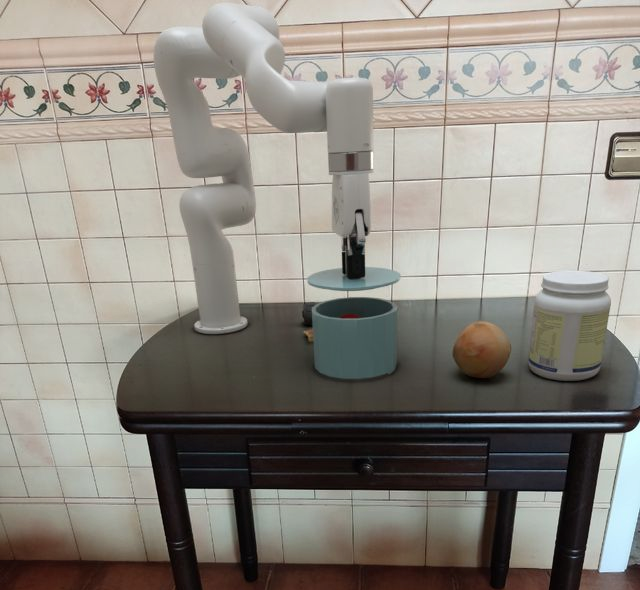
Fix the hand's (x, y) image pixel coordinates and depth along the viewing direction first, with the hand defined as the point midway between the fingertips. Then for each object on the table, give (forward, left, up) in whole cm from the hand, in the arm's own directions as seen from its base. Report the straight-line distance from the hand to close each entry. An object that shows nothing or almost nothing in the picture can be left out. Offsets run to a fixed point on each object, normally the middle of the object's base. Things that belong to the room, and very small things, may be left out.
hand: (353, 274), depth 107 cm
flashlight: (-30, +3, -18) cm, 35 cm away
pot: (0, 0, -17) cm, 17 cm away
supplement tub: (+14, +35, -18) cm, 42 cm away
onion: (+12, +20, -18) cm, 29 cm away
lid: (0, 0, -1) cm, 1 cm away
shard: (-18, -1, -18) cm, 25 cm away
